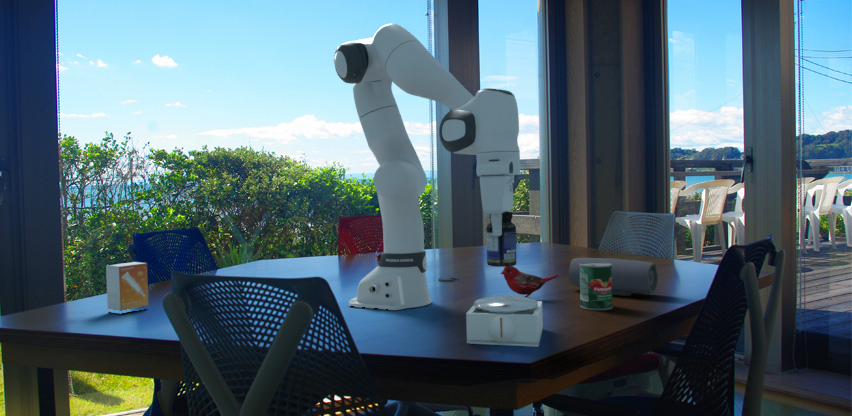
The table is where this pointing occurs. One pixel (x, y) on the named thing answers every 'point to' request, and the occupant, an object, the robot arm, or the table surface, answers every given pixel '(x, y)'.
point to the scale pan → (506, 304)
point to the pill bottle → (502, 243)
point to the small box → (127, 285)
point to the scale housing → (505, 327)
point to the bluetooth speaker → (622, 275)
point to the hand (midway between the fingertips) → (500, 234)
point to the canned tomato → (596, 285)
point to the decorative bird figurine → (523, 281)
